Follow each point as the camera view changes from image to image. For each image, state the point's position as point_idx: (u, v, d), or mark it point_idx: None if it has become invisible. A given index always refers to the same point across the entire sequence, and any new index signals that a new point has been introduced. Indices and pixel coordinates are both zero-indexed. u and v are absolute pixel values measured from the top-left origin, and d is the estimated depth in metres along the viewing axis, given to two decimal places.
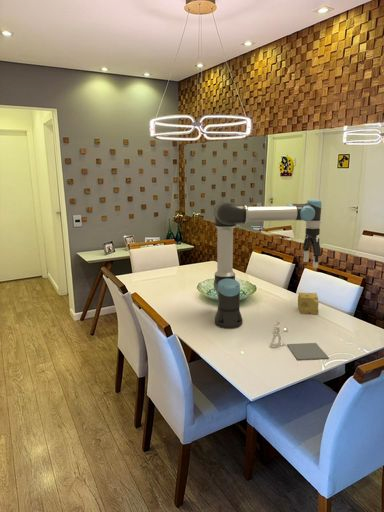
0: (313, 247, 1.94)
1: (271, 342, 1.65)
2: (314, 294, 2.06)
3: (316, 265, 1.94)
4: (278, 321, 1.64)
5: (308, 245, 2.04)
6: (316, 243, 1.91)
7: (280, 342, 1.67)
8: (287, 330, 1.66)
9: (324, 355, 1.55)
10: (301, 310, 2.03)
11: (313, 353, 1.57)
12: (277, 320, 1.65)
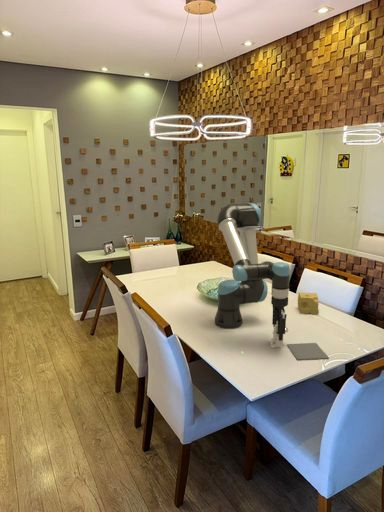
0: (278, 322, 1.61)
1: (271, 342, 1.65)
2: (314, 294, 2.06)
3: (280, 343, 1.63)
4: None
5: (277, 318, 1.66)
6: (282, 320, 1.58)
7: None
8: (287, 330, 1.66)
9: (324, 355, 1.55)
10: (301, 310, 2.03)
11: (313, 353, 1.57)
12: (277, 320, 1.65)
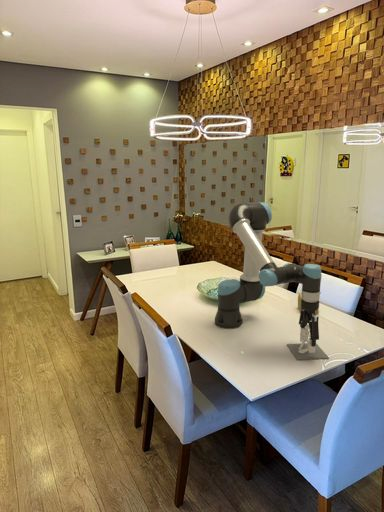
0: (310, 327, 1.52)
1: (300, 347, 1.58)
2: None
3: (313, 349, 1.53)
4: (307, 326, 1.57)
5: (305, 320, 1.60)
6: (314, 323, 1.49)
7: None
8: None
9: (324, 355, 1.55)
10: None
11: (313, 353, 1.57)
12: None
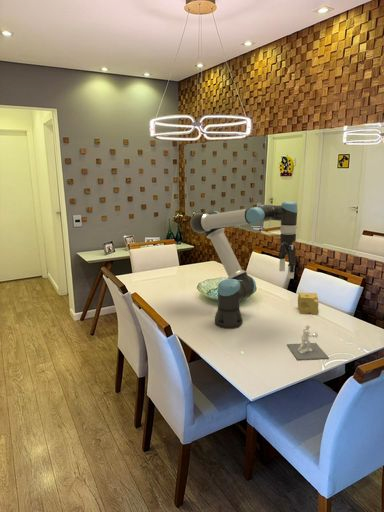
0: (288, 255, 1.72)
1: (300, 347, 1.58)
2: (314, 294, 2.06)
3: (291, 276, 1.72)
4: (307, 326, 1.57)
5: (284, 253, 1.81)
6: (291, 251, 1.69)
7: (309, 348, 1.60)
8: (317, 335, 1.58)
9: (324, 355, 1.55)
10: (301, 310, 2.03)
11: (313, 353, 1.57)
12: (306, 325, 1.58)
